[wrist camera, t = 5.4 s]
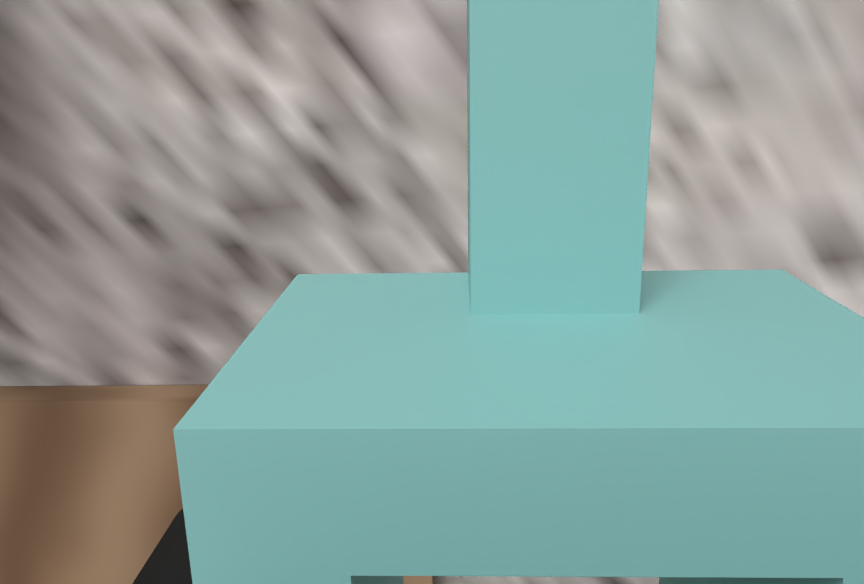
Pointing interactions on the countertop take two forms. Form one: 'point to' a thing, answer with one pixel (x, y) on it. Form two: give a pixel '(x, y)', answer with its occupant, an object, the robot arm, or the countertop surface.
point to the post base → (89, 480)
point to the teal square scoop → (538, 372)
